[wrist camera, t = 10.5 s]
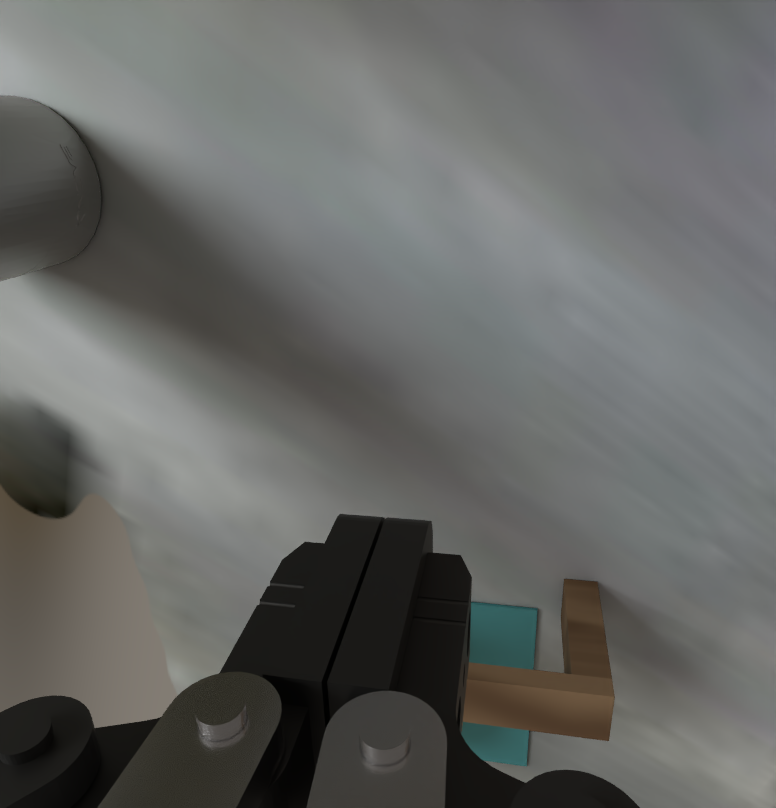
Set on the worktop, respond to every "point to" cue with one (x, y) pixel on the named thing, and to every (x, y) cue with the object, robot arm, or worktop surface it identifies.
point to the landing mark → (502, 646)
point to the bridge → (553, 679)
